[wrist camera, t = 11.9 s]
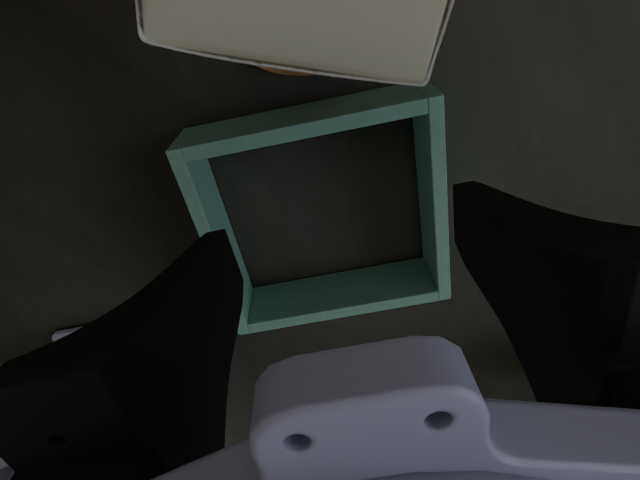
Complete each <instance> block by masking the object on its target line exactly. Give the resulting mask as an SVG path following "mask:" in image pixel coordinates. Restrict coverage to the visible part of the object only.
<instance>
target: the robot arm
mask: <svg viewBox="0 0 640 480" xmlns="http://www.w3.org/2000/svg"><path fill="white" fill-rule="evenodd" d="M453 204H454V237H455V243H456V245H457V248H458V250H459V253H460V255H461V257H462V259H463V262H464V264H465V266H466V268H467V269H468V271H469V273H470V274H471V276H472V277H473V279H474V281H475V282H476V284H477V285H478V287H479V288H480V290H481V292H482V293H483V295H484V296H485V298H486V299H487V301H488V303H489V304H490V306H491V307H492V309H493V310H494V312H495V314H496V315H497V317H498V318H499V320H500V322H501V324H502V326H503V327H504V329H505V331H506V333H507V335H508V337H509V340H510V342H511V344H512V346H513V348H514V350H515V352H516V354H517V356H518V359H519V361H520V363H521V365H522V367H523V370H524V372H525V374H526V376H527V379H528V381H529V383H530V385H531V388H532V390H533V392H534V395H535V397H536V399H537V402H532V401H518V400H505V399H491V398H483V397H482V395H481V393H480V391H479V388H478V386H477V384H476V381H475V379H474V377H473V375H472V372H471V370H470V368H469V366H468V363H467V361H466V359H465V357H464V354H463V352H462V350H461V348H460V347H459V346H457V345H455V344H453V343H451V342H450V341H448V340H446V339H444V338H442V337H440V336H407V337H401V338H395V339H389V340H383V341H378V342H372V343H366V344H360V345H354V346H348V347H342V348H337V349H331V350H325V351H319V352H313V353H307V354H302V355H296V356H292V357H290V358H287V359H284V360H282V361H279V362H277V363H274V364H271V365H269V366H268V367H267V369H266V370H265V371H264V372H263V373H262V374H261V376H260V377H259V378H258V379H257V380H256V381H255V390H254V399H253V408H252V417H251V426H250V437H249V438H246V439H244V440H242V441H239V442H237V443H235V444H232V445H230V446H227V447H225V448H224V443H225V422H226V406H227V393H228V381H229V372H230V366H231V360H232V356H233V351H234V346H235V341H236V336H237V331H238V326H239V321H240V316H241V311H242V306H243V285H244V279H243V277H242V274H241V271H240V268H239V266H238V263H237V260H236V257H235V255H234V252H233V249H232V246H231V244H230V241H229V238H228V235H227V233H226V230H225V229H221V230H216V231H211V232H206V233H205V234H204V235H202V236H201V237H200V238H199V239H198V240H197V241H195V242H194V243H193V244H192V245H191V246H190V247H189V248H188V249H187V250H186V251H185V252H184V253H183V254H182V255H181V256H180V257H178V258H177V259H176V260H175V261H174V262H173V263H172V264H171V265H170V266H169V267H168V268H166V269H165V270H164V271H163V272H162V273H161V274H159V275H158V276H157V277H156V278H155V279H154V280H153V281H151V282H150V283H149V284H148V285H147V286H145V287H144V288H143V289H141V290H140V291H139V292H137V293H136V294H135V295H133V296H132V297H130V298H129V299H128V300H126V301H125V302H123V303H122V304H120V305H119V306H117V307H116V308H114V309H112V310H111V311H109V312H108V313H106V314H104V315H103V316H101V317H99V318H98V319H96V320H94V321H93V322H91V323H89V324H87V325H86V326H82V327H76V328H71V329H65V330H60V331H56V332H55V333H54V334H53V336H52V340H53V342H52V343H50V344H48V345H45V346H43V347H41V348H38V349H36V350H34V351H31V352H29V353H26V354H24V355H22V356H19V357H17V358H15V359H12V360H10V361H7V362H5V363H4V364H3V365H2V366H1V368H0V480H640V227H638V226H629V225H623V224H616V223H610V222H603V221H598V220H593V219H588V218H584V217H579V216H575V215H571V214H567V213H563V212H559V211H556V210H553V209H549V208H546V207H543V206H540V205H537V204H534V203H531V202H528V201H526V200H523V199H520V198H518V197H515V196H513V195H510V194H507V193H505V192H502V191H500V190H497V189H495V188H492V187H490V186H487V185H485V184H482V183H479V182H476V181H470V182H465V183H459V184H454V185H453Z"/></svg>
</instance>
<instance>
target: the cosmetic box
mask: <svg viewBox="0 0 640 480" xmlns="http://www.w3.org/2000/svg"><path fill="white" fill-rule="evenodd" d="M454 1H455V0H135V9H136V20H137V31H138V35H139V38H140V39H141V40H142V41H143V42H144V43H147V44H149V45H152V46H157V47H162V48H167V49H171V50H175V51H180V52H185V53H190V54H194V55H199V56H204V57H209V58H214V59H219V60H225V61H231V62H236V63H243V64H249V65H255V66H261V67H269V68H275V69H280V70H288V71H295V72H302V73H308V74H316V75H323V76H330V77H339V78H346V79H354V80H363V81H373V82H379V83H389V84H399V85H408V86H417V87H424V86H425V85H427V83H428V82H429V80H430V77H431V73H432V70H433V66H434V63H435V59H436V56H437V53H438V50H439V47H440V45H441V42H442V39H443V36H444V33H445V29H446V26H447V23H448V19H449V16H450V14H451V11H452V8H453V5H454Z"/></svg>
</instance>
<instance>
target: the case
mask: <svg viewBox="0 0 640 480" xmlns="http://www.w3.org/2000/svg"><path fill="white" fill-rule="evenodd" d="M410 117H413V130H414V144H415V157H416V170H417V183H418V197H419V210H420V223H421V236H422V249H423V257H421V258H415V259H410V260H404V261H399V262H393V263H388V264H382V265H377V266H371V267H365V268H360V269H354V270H349V271H343V272H338V273H332V274H326V275H321V276H315V277H310V278H304V279H299V280H293V281H287V282H282V283H276V284H271V285H265V286H260V287H254V288H253V287H252V284H251V281H250V279H249V276H248V273H247V270H246V267H245V264H244V261H243V259H242V256H241V253H240V250H239V247H238V244H237V241H236V239H235V236H234V233H233V230H232V227H231V224H230V222H229V219H228V216H227V213H226V210H225V207H224V204H223V202H222V199H221V196H220V193H219V190H218V187H217V184H216V182H215V179H214V176H213V173H212V170H211V167H210V164H209V162H208V159H207V158H212V157H217V156H222V155H227V154H232V153H237V152H242V151H247V150H252V149H257V148H262V147H266V146H271V145H276V144H281V143H286V142H291V141H296V140H301V139H306V138H311V137H316V136H321V135H326V134H331V133H336V132H341V131H346V130H351V129H356V128H361V127H366V126H371V125H376V124H381V123H386V122H390V121H395V120H400V119H405V118H410ZM165 153H166V155H167V158H168V160H169V163H170V165H171V168H172V170H173V172H174V175H175V177H176V180H177V182H178V185H179V187H180V190H181V192H182V195H183V197H184V200H185V202H186V205H187V207H188V210H189V212H190V215H191V217H192V220H193V222H194V225H195V227H196V230H197V232H198V235H199V237H201V236H202V235H204V234H205V233H206V232H211V231H216V230H221V229H225V230H226V233H227V235H228V238H229V241H230V244H231V246H232V249H233V252H234V255H235V257H236V260H237V263H238V266H239V268H240V271H241V274H242V277H243V279H244V285H243V306H242V311H241V316H240V321H239V326H238V334H239V335H243V334H249V333H255V332H260V331H266V330H272V329H278V328H284V327H289V326H295V325H301V324H307V323H313V322H318V321H324V320H330V319H336V318H342V317H347V316H353V315H359V314H365V313H371V312H376V311H382V310H388V309H394V308H400V307H405V306H411V305H417V304H423V303H429V302H434V301H438V300H446V299H450V298H451V285H450V256H449V228H448V200H447V172H446V144H445V116H444V95H443V94H442V93H440V92H439V91H438V90H436V89H435V88H434V87H433V86H431V85H430V84H429V83H427V85H425V86H424V87H417V86H408V85H399V84H396V85H392V86H387V87H382V88H377V89H372V90H368V91H363V92H358V93H353V94H348V95H343V96H339V97H334V98H329V99H324V100H319V101H314V102H310V103H305V104H300V105H295V106H290V107H285V108H281V109H276V110H271V111H266V112H261V113H256V114H252V115H247V116H242V117H237V118H232V119H227V120H223V121H218V122H213V123H208V124H203V125H199V126H194V127H189V128H184V129H183V130H182V131H181V133H180V134H179V135H178V136H177V138H176V139H175V140H174V141H173V143H172V144H171V145H170V146H169V148H168V149H167V150H166V151H165Z"/></svg>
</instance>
